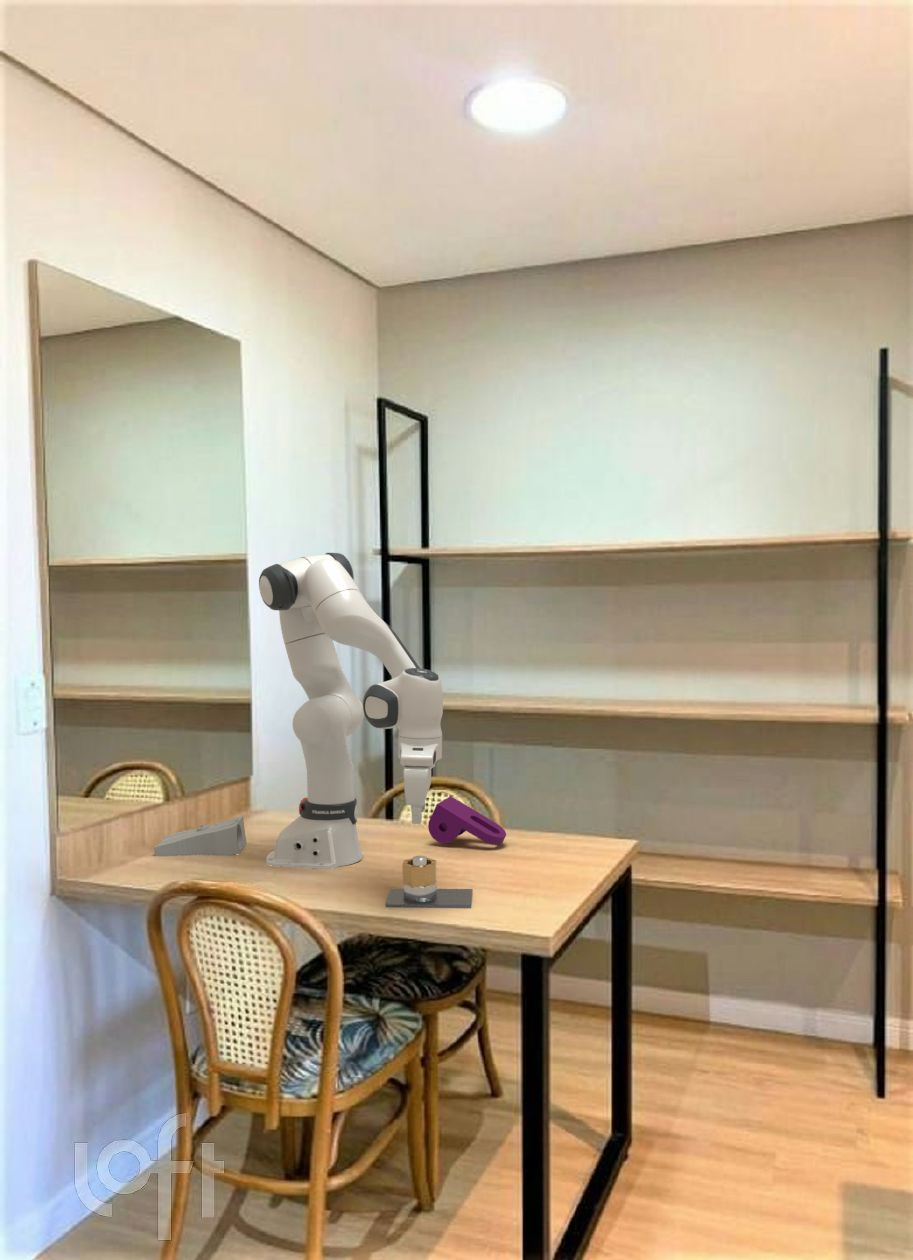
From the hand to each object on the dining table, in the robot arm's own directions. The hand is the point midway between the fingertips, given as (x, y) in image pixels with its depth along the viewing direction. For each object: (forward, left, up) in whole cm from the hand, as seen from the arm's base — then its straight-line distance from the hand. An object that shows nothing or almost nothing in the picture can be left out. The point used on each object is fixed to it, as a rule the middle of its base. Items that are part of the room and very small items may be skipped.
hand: (418, 817), depth 198 cm
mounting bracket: (+16, +43, -19) cm, 50 cm away
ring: (0, 0, -13) cm, 13 cm away
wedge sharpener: (-57, +38, -18) cm, 71 cm away
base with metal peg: (+2, 0, -17) cm, 17 cm away
